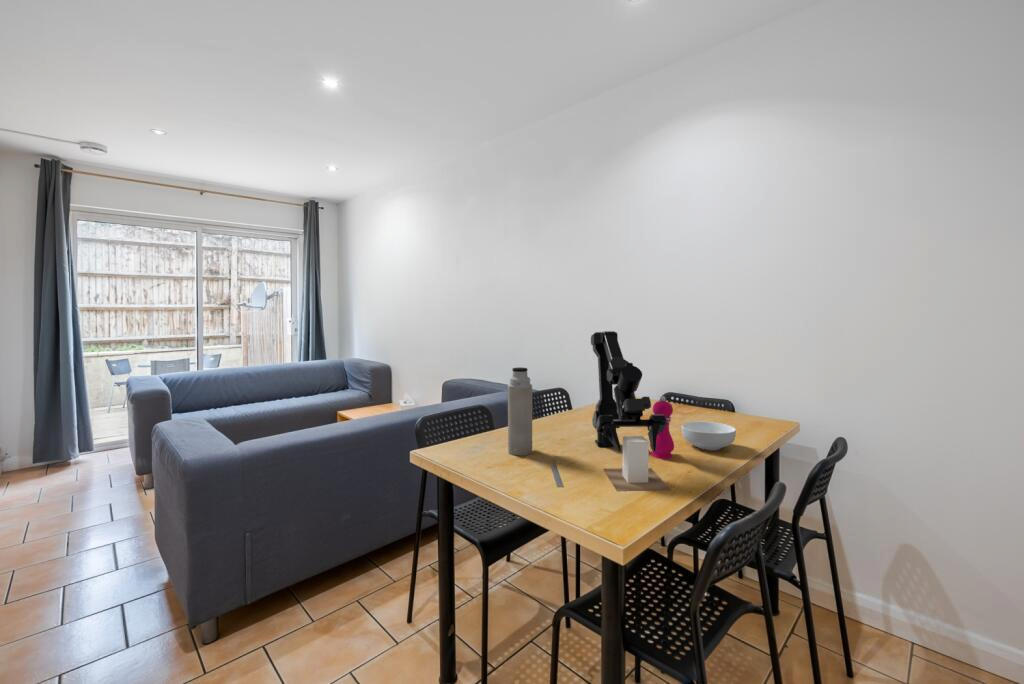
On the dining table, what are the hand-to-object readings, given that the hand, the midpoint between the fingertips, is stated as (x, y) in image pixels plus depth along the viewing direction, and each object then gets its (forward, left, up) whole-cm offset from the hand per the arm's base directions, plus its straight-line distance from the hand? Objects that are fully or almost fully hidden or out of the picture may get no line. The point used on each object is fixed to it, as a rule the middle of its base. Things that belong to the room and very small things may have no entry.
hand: (637, 451), depth 121 cm
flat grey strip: (-6, -15, -9) cm, 19 cm away
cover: (-1, 0, -8) cm, 8 cm away
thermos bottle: (-29, -30, -9) cm, 43 cm away
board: (-1, 0, -9) cm, 9 cm away
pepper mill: (-20, +14, -9) cm, 26 cm away
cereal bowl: (-32, +34, -9) cm, 48 cm away
